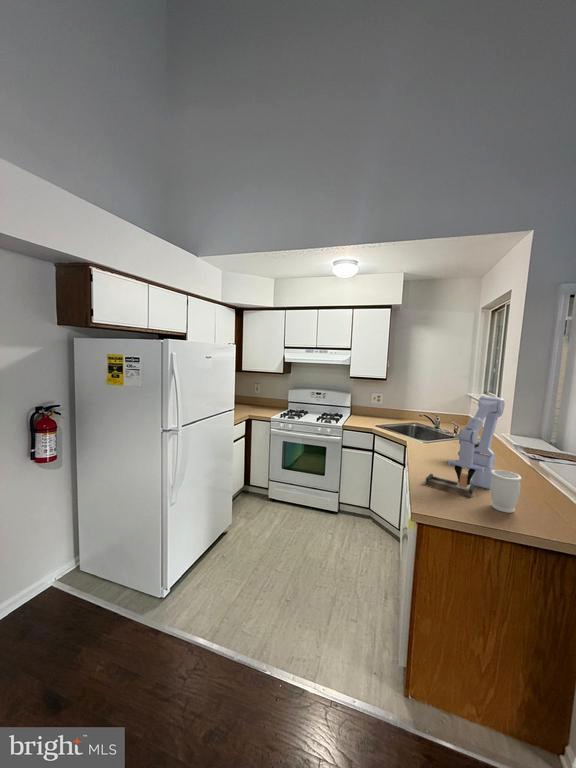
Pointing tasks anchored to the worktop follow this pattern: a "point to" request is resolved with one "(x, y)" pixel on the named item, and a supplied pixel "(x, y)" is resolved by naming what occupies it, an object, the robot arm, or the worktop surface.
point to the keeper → (463, 482)
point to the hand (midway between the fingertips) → (463, 483)
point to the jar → (504, 490)
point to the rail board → (448, 486)
